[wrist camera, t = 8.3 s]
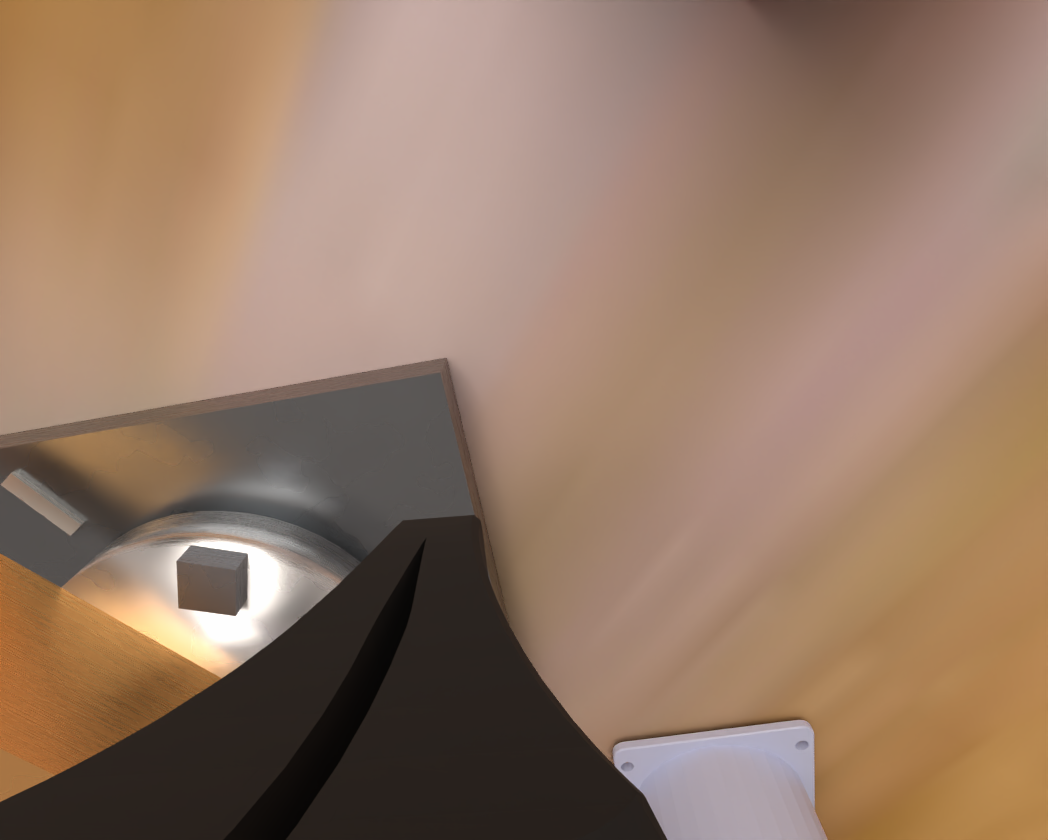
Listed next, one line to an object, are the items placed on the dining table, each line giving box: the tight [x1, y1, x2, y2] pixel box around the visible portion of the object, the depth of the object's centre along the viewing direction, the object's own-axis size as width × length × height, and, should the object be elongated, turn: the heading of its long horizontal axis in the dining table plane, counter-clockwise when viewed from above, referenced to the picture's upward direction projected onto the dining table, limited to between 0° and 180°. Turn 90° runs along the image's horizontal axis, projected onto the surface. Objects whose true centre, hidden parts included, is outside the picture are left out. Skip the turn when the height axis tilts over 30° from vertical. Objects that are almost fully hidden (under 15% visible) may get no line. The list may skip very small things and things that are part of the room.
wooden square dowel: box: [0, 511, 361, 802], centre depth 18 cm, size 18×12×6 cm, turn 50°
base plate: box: [0, 358, 509, 624], centre depth 23 cm, size 18×18×2 cm
